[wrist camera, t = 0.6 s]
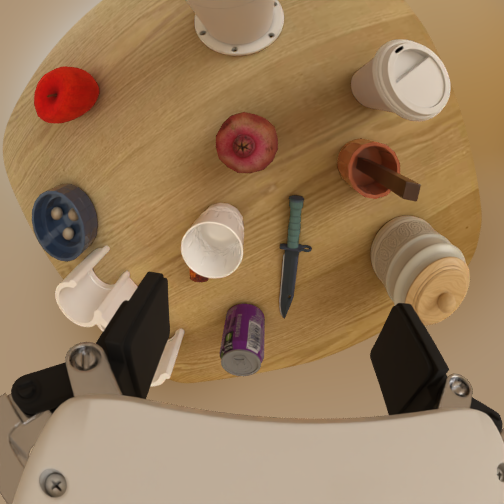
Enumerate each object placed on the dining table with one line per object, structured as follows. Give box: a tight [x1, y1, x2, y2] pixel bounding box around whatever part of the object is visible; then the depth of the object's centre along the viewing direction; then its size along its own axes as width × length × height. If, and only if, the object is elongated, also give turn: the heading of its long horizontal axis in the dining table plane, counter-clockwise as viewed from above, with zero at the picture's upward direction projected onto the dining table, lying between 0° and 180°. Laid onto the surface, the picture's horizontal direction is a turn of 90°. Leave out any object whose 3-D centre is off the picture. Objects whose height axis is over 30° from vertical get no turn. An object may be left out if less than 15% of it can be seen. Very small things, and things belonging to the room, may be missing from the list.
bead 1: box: [51, 207, 63, 220], centre depth 43 cm, size 2×2×2 cm
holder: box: [337, 138, 400, 199], centre depth 36 cm, size 8×8×6 cm
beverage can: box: [220, 304, 265, 376], centre depth 47 cm, size 7×7×12 cm
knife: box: [280, 195, 312, 319], centre depth 46 cm, size 23×2×5 cm
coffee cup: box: [351, 39, 450, 121], centre depth 27 cm, size 10×10×15 cm
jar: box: [371, 215, 470, 326], centre depth 37 cm, size 13×13×18 cm
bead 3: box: [63, 227, 74, 240], centre depth 44 cm, size 2×2×2 cm
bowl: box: [32, 184, 98, 261], centre depth 42 cm, size 13×13×5 cm
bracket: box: [55, 246, 184, 386], centre depth 47 cm, size 25×10×12 cm, turn 32°
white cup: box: [181, 203, 244, 278], centre depth 40 cm, size 8×8×10 cm
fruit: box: [216, 112, 278, 173], centre depth 34 cm, size 8×8×10 cm
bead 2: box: [68, 208, 79, 221], centre depth 43 cm, size 2×2×2 cm
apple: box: [34, 67, 99, 123], centre depth 30 cm, size 9×9×11 cm
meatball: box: [190, 269, 209, 282], centre depth 46 cm, size 4×4×4 cm
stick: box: [356, 157, 421, 201], centre depth 31 cm, size 2×2×16 cm
